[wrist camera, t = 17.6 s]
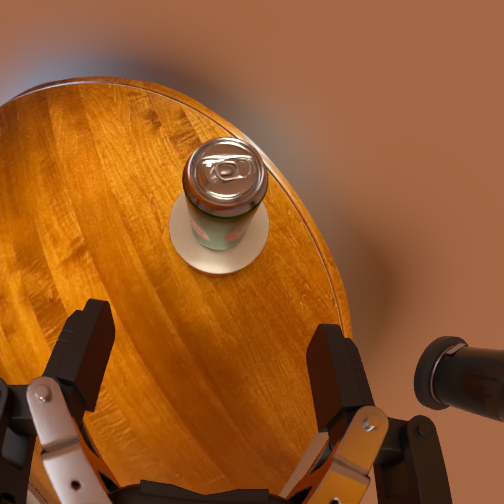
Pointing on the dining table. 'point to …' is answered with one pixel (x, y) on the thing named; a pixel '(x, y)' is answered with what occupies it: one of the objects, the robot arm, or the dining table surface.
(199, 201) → the soda can
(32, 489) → the vase
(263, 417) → the dining table surface
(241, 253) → the canister
